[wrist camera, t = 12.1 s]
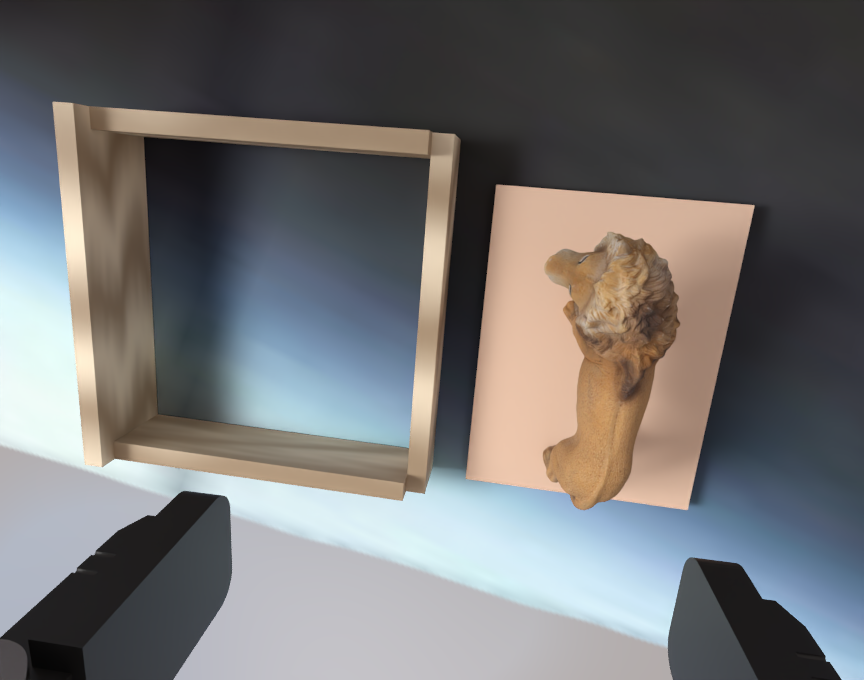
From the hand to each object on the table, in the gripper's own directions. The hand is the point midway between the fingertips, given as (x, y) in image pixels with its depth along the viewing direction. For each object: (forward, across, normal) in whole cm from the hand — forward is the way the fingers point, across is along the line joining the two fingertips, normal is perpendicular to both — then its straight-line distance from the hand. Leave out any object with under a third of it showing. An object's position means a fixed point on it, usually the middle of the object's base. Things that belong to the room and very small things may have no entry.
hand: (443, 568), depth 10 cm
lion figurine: (+20, -6, +2) cm, 21 cm away
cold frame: (+22, +11, 0) cm, 24 cm away
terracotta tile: (+21, -6, +2) cm, 22 cm away
